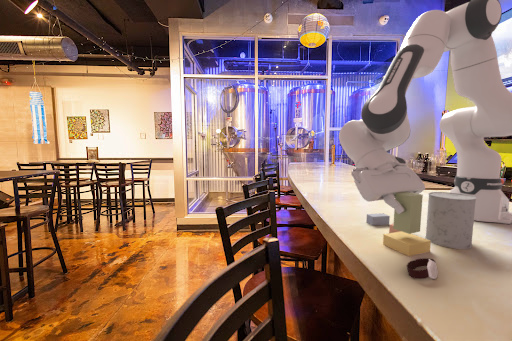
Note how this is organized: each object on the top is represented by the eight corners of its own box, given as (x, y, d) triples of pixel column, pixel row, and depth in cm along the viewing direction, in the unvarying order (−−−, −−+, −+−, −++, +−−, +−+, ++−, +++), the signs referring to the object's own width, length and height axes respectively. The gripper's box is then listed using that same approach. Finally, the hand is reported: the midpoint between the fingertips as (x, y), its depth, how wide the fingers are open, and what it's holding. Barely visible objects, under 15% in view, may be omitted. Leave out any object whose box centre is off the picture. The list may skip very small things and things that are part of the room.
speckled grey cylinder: (482, 250, 57) (486, 200, 55) (437, 247, 59) (440, 198, 57) (456, 236, 66) (460, 192, 65) (418, 233, 68) (421, 191, 67)
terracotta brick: (399, 230, 71) (399, 220, 71) (410, 233, 68) (410, 223, 68) (389, 234, 68) (389, 224, 67) (400, 238, 65) (400, 227, 65)
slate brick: (382, 222, 79) (383, 213, 79) (389, 225, 76) (389, 215, 76) (366, 223, 78) (366, 214, 78) (372, 226, 75) (372, 216, 75)
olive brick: (403, 226, 60) (406, 191, 60) (420, 231, 57) (422, 194, 56) (393, 228, 59) (395, 193, 58) (409, 233, 55) (411, 196, 54)
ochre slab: (403, 241, 63) (403, 230, 62) (429, 252, 56) (430, 240, 56) (382, 245, 60) (383, 234, 60) (408, 257, 54) (409, 244, 54)
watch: (428, 287, 42) (429, 267, 42) (399, 275, 46) (401, 257, 46) (442, 273, 47) (444, 255, 47) (415, 264, 51) (416, 247, 50)
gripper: (355, 160, 58) (390, 208, 50) (409, 159, 67) (445, 200, 59) (341, 176, 63) (371, 223, 55) (393, 173, 71) (425, 213, 63)
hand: (410, 211), depth 57 cm, fingers closed on olive brick, 4 cm apart
